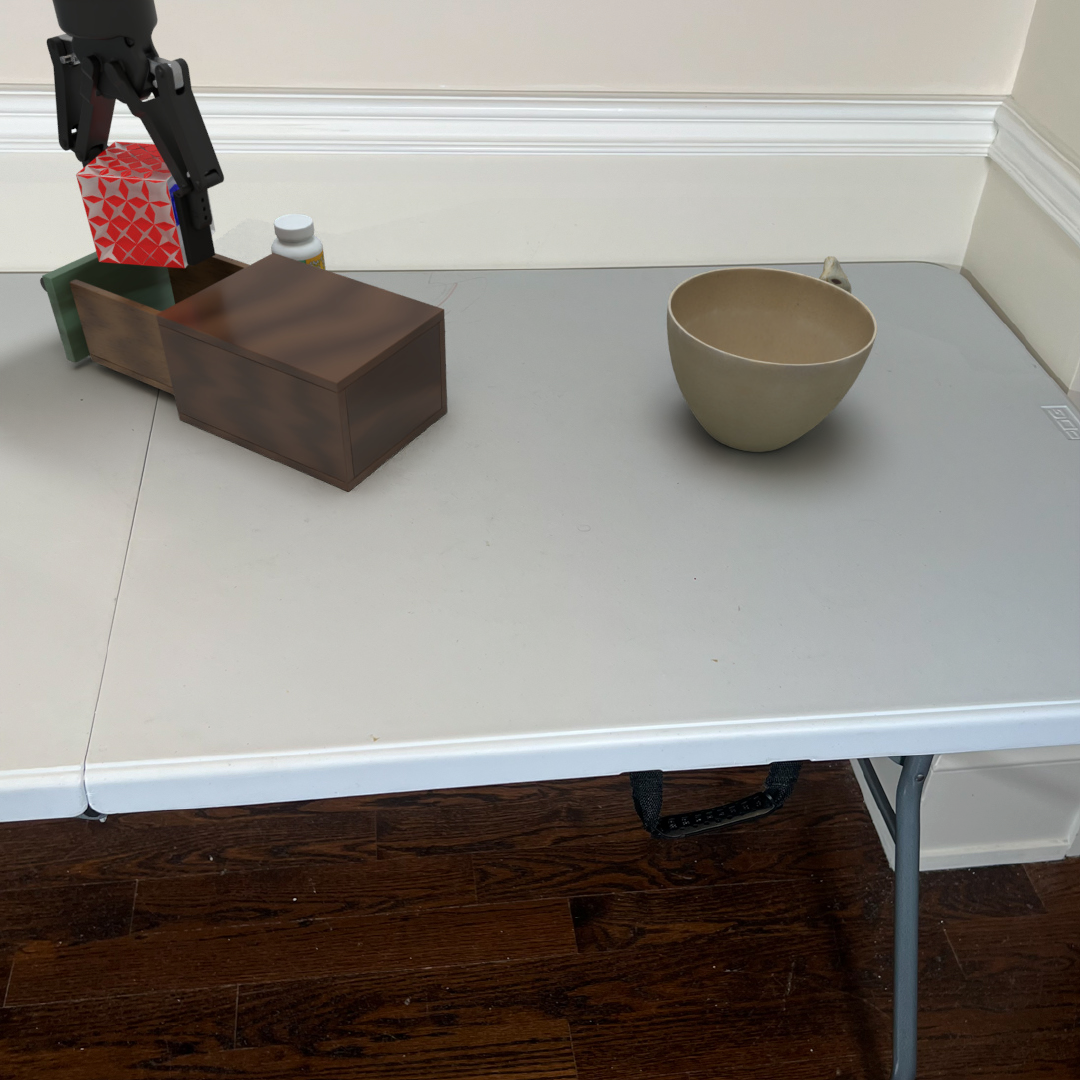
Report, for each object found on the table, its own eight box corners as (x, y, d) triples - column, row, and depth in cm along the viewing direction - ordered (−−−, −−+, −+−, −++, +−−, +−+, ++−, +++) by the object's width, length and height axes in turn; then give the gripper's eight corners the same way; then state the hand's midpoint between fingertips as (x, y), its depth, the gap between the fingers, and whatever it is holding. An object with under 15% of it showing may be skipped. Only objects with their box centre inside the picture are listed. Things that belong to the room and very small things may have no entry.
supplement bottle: (321, 290, 115) (311, 207, 109) (336, 311, 112) (327, 227, 106) (273, 299, 114) (261, 215, 107) (287, 321, 110) (275, 235, 104)
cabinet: (179, 419, 95) (155, 314, 88) (287, 352, 105) (273, 252, 98) (348, 492, 88) (336, 383, 81) (447, 411, 98) (444, 308, 91)
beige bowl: (871, 483, 91) (907, 364, 84) (670, 486, 90) (687, 365, 82) (816, 376, 105) (842, 265, 97) (640, 377, 104) (653, 264, 96)
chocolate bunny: (860, 344, 110) (883, 257, 104) (808, 364, 107) (829, 275, 100) (822, 323, 114) (842, 236, 107) (770, 341, 110) (788, 253, 104)
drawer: (32, 345, 103) (5, 261, 97) (137, 292, 112) (118, 213, 106) (207, 418, 94) (189, 331, 88) (306, 355, 103) (295, 272, 97)
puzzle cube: (134, 225, 98) (114, 141, 93) (215, 231, 98) (200, 147, 92) (98, 262, 92) (75, 174, 87) (184, 269, 92) (166, 181, 86)
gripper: (-40, -38, 82) (40, 229, 96) (167, 7, 74) (220, 292, 88) (39, -54, 87) (103, 202, 101) (241, -13, 79) (280, 260, 93)
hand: (158, 244), depth 95 cm, fingers closed on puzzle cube, 10 cm apart
